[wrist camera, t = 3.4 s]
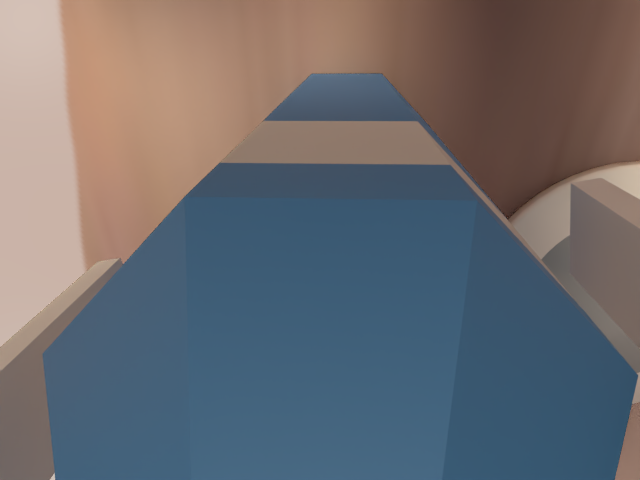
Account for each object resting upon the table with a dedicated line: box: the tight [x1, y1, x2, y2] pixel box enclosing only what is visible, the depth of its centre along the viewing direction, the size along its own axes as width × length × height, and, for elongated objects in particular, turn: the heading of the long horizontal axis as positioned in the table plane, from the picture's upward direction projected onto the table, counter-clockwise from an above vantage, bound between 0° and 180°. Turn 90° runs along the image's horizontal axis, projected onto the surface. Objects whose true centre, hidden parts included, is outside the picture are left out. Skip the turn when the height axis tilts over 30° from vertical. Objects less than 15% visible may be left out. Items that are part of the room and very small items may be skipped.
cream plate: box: [508, 161, 640, 404], centre depth 27 cm, size 16×16×1 cm
